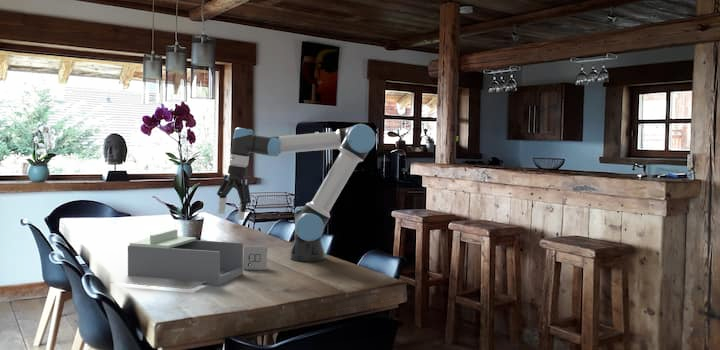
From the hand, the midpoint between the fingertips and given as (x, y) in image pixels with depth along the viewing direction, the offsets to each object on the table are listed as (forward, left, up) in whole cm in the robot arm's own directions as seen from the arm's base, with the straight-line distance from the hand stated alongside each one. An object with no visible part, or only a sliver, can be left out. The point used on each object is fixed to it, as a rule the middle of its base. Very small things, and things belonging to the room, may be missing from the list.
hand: (230, 216), depth 242 cm
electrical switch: (-12, +3, -20) cm, 24 cm away
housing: (+6, +24, -20) cm, 32 cm away
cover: (+16, +24, -8) cm, 30 cm away
